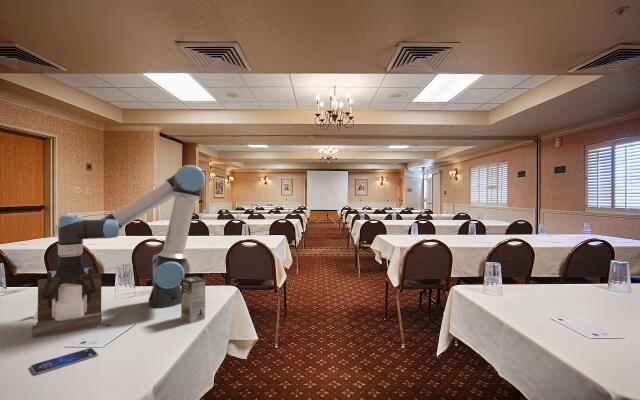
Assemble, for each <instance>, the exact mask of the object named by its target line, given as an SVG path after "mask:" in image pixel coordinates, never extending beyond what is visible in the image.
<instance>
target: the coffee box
mask: <svg viewBox="0 0 640 400" xmlns="http://www.w3.org/2000/svg"><path fill="white" fill-rule="evenodd" d="M180 286H181V303H180V305H181V307H180V308H181V309H180V310H181V311H180V315H181V316H180V317H181V319H184V320H185V321H187V322H188V323H190V324H193V323H195V322H199V321H203V320H205V319H206V279H205V278H203V277H200V276H197V275H196V276H194V275H193V276H190V277H184V278H183V279H182V282H181V284H180Z"/></svg>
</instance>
